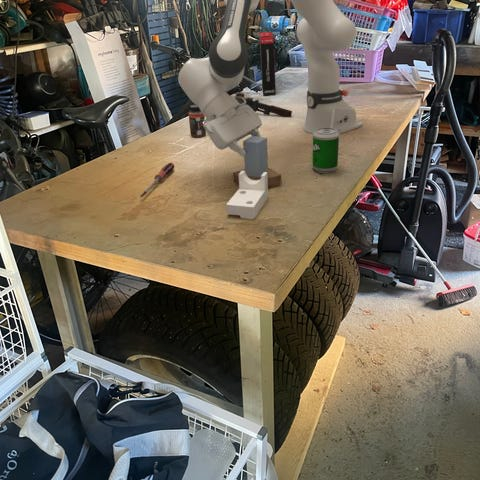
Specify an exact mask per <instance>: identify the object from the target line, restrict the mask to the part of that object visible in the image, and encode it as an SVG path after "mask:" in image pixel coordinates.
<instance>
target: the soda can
mask: <svg viewBox="0 0 480 480" xmlns="http://www.w3.org/2000/svg"><path fill="white" fill-rule="evenodd" d="M339 143H340V134H339V133H338V132H337V131H336V129H334V128H319V129H317V130H316V131H315V132H314V133H312V159H311V161H312V163H311V164H312V165H311V167H312V168H313V169H314V171H315V172H317V173H320V174H330V173H333V172H335V170H336V169H337V168H338V165H339V164H338V163H339V145H340V144H339Z"/></svg>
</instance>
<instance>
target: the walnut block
mask: <svg viewBox="0 0 480 480" xmlns="http://www.w3.org/2000/svg"><path fill="white" fill-rule="evenodd" d="M241 171H245V168H244V169H241V170H236V171H233V172H232V180H233V183H234V184H235V185H237V186H239V173H240V172H241ZM267 175H268V189H270V188H274V187H277V186H281V185H282V174H280V173H278V172H276V171H274V170H272V169H271V168H269V167H268V172H267ZM247 177H248V178H249V179H251V180H254V181H257V180H260V179H261V177H260V178H259V177H253V176H247Z"/></svg>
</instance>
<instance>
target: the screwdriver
mask: <svg viewBox="0 0 480 480" xmlns="http://www.w3.org/2000/svg"><path fill="white" fill-rule="evenodd" d="M174 169H175V164H174V163H173V162H169V163H167V164H165V165H164V166H163V167H162V168H161V170H160V171H159V172H158V173H157V174H156V175H155V176H154V181H153V182H152V183H151V184H150V185H149V186H148V187H147V188H146V189H145V190H144V191H143V193H142V194H141V195H140V196H139V198H142V197H144V196H145V195H146V194H148V192H150V191H151V189H152V188H153V187H154V186H155V185H156V184H157V183H158V182H161V183H162V182H163V180H164V179H165V178H166V177H168V176H169V175H170V174H171V173H172V172H174Z"/></svg>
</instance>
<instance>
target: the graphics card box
mask: <svg viewBox="0 0 480 480" xmlns="http://www.w3.org/2000/svg"><path fill="white" fill-rule="evenodd" d="M258 35H259V53H260V55H259V56H260V72H261V86H262V95H263V96H264V97H265V96H276V94H277V93H276V91H277V90H276V89H277V87H276V86H277V85H276V57H275V42H274V41H275V39H274V34H273V32H271V31H266V32H265V31H263V32H259V34H258Z"/></svg>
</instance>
